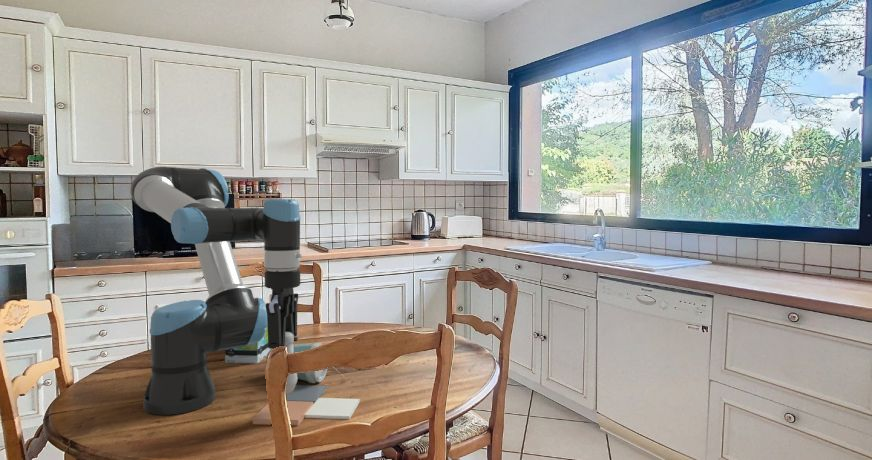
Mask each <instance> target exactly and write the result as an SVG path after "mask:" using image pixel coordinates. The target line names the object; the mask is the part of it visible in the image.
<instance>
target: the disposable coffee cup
mask: <svg viewBox="0 0 872 460" xmlns="http://www.w3.org/2000/svg"><path fill="white" fill-rule="evenodd" d="M321 345H323V344H322V343H321V342H315V343H313V342H312V343H301V344H293V353H295V352H301V351H305V350H309V349H313V348H316V347H319V346H321ZM271 350H272V349H270V350H269V352H268V354H267V355H266V356H265V357H266V358H265V364H266V363H267V359H268V355H269V353H270V351H271ZM327 372H328V368H327V369H324V370H319V371H311V372H306V373H298V374H297V378H298V379H297V380H301V381H305V382H308V384H317V383H322V382H323V381H324V379H325V377H326V375H327Z"/></svg>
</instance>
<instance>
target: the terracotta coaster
mask: <svg viewBox="0 0 872 460" xmlns="http://www.w3.org/2000/svg"><path fill="white" fill-rule="evenodd" d="M287 405H288V411H289V415H290V421H291V425H290V426H300V424H301V423H302V422H303V420H304V419H305V414H306V413H307V412H308V410H309V409H310V408H311V407H312V405H313V402H304V401H287ZM252 425H268V426H269V425H271V420H270V413H269V408H268V403H267V404H266V405H265V406H264V407H263V408H262V409H261V410H260V411H259V412H258V413H257V414H255V416H254V417H253V418H252ZM271 426H272V425H271Z"/></svg>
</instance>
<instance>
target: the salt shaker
mask: <svg viewBox="0 0 872 460" xmlns="http://www.w3.org/2000/svg"><path fill="white" fill-rule="evenodd" d="M294 338H295V336H293V334H292V333H291V332H285V346H286V347H287V351H288V353H293V351H292V346H291V344H292V343H293V344H294V342H295V341H294ZM298 380H299V379H298V378H297V373H294V374H289V376H288V379H287V384H286V394H287V393H291V392H292V391H293V390H294V388H295V385H297V383H298Z"/></svg>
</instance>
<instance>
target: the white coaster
mask: <svg viewBox="0 0 872 460" xmlns="http://www.w3.org/2000/svg"><path fill="white" fill-rule="evenodd" d="M360 402H361V399H360V398H339V397H338V398H335V397H320V398H318V399H317V401H316V402H315V403H314V404H313V405H312V407H311V408H310V409H309V410H308V412H307V413H306V414H305V418H306V419H327V420H328V419H329V420H330V419H331V420H332V419H334V420H350V419H351V418H352V416H353V414H354V412H355V411H356V409H357V407H358V405H359V404H360ZM305 418H304V419H305Z"/></svg>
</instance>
